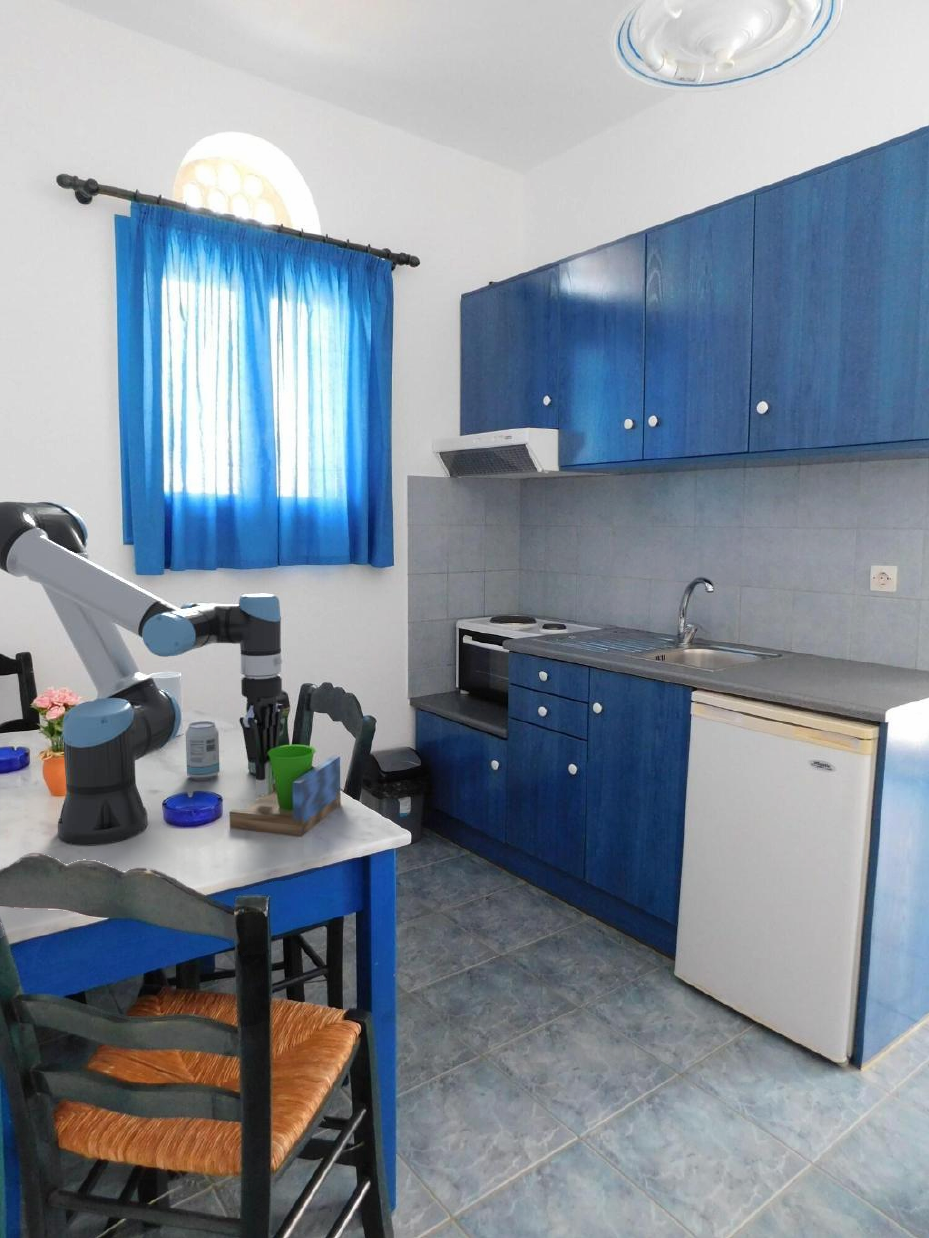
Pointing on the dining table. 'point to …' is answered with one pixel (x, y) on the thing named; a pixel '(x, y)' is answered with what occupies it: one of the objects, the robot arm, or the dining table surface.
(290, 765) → the cup
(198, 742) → the beverage can
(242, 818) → the wooden display stand
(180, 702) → the cup
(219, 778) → the dining table surface
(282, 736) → the coffee jar
